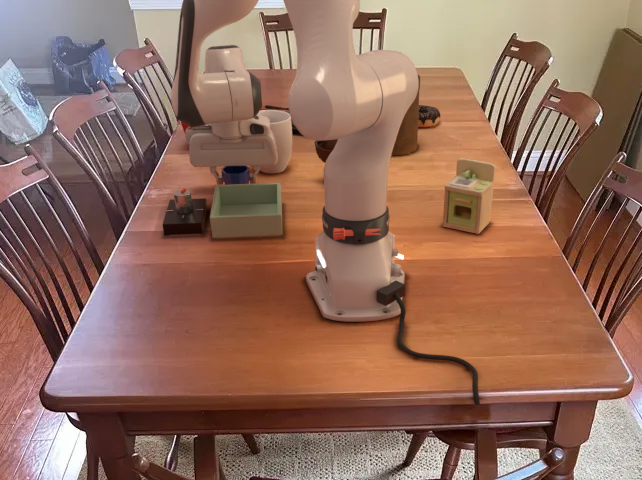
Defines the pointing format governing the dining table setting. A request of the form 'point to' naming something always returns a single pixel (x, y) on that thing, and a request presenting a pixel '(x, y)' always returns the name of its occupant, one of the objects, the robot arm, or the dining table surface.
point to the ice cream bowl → (324, 148)
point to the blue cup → (235, 175)
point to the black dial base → (185, 219)
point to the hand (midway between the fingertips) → (236, 183)
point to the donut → (428, 116)
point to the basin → (246, 210)
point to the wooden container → (408, 129)
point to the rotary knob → (183, 201)
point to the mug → (279, 139)
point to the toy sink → (469, 196)
